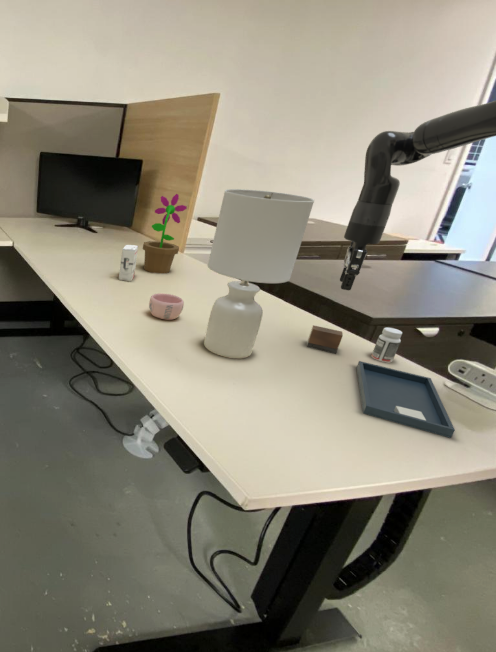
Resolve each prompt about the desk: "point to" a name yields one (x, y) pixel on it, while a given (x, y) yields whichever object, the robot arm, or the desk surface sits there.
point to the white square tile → (409, 412)
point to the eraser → (324, 339)
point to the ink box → (128, 262)
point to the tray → (402, 398)
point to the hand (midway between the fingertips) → (344, 285)
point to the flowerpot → (162, 252)
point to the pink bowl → (165, 306)
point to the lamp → (251, 261)
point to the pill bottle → (387, 345)
